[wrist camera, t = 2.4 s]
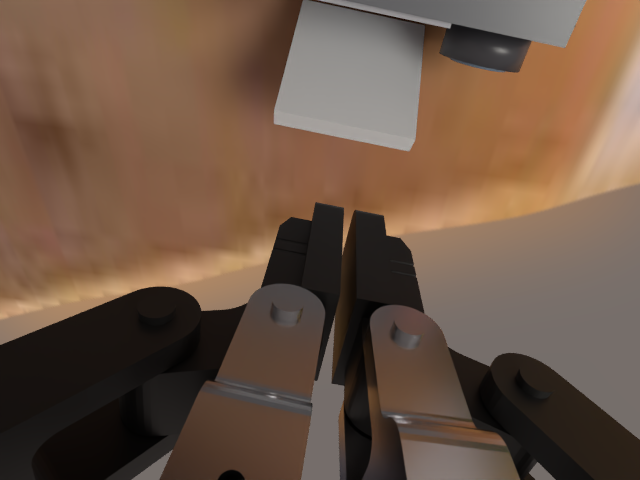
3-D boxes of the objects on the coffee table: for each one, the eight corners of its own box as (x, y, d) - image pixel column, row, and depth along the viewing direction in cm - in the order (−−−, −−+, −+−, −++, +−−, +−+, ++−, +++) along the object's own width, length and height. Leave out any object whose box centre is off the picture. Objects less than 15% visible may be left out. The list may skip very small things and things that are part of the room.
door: (303, -1, 24) (274, 110, 20) (425, 25, 24) (415, 139, 21) (301, 20, 25) (273, 128, 22) (417, 45, 25) (406, 155, 22)
